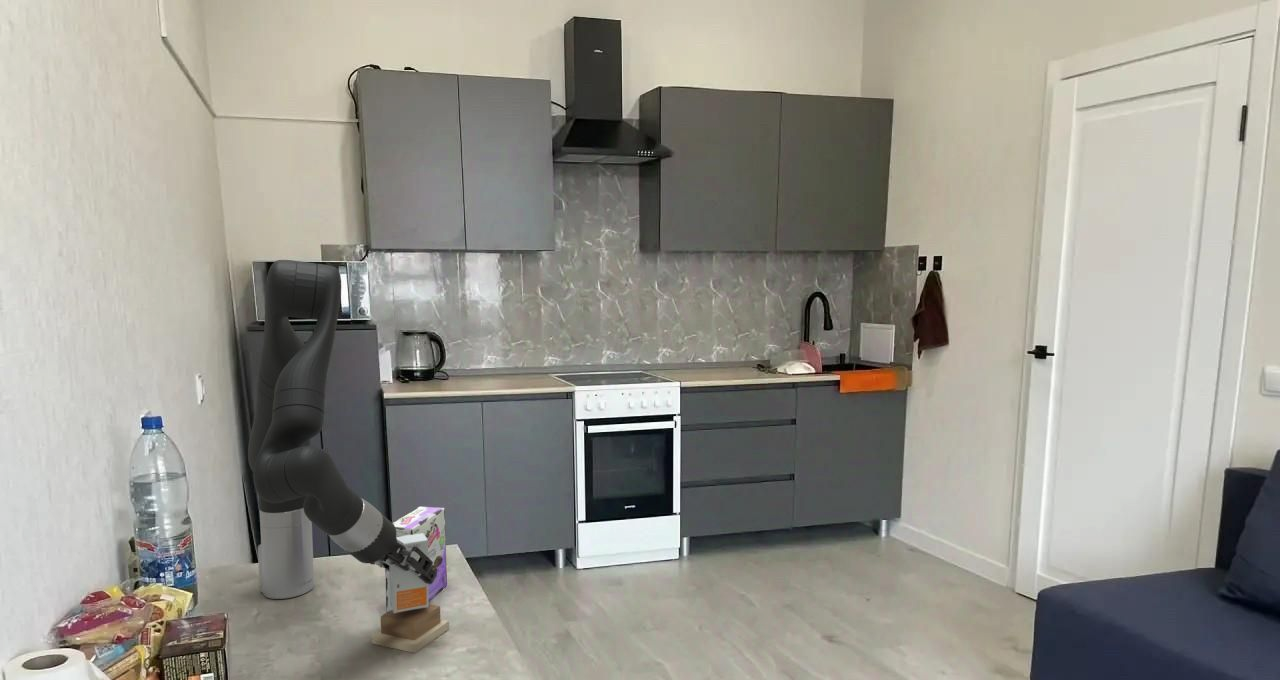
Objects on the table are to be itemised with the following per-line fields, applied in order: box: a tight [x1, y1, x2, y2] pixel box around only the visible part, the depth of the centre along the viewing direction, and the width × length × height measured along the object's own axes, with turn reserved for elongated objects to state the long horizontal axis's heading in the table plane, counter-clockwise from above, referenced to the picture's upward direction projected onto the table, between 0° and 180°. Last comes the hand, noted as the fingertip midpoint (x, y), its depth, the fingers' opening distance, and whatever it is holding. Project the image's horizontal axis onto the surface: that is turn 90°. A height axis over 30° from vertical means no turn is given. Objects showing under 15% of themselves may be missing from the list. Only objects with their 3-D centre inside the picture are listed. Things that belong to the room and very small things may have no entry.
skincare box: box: [389, 533, 430, 613], centre depth 125 cm, size 6×4×12 cm
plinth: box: [371, 603, 450, 654], centre depth 126 cm, size 9×9×4 cm
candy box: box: [384, 506, 448, 613], centre depth 141 cm, size 14×6×16 cm, turn 168°
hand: (415, 575), depth 126 cm, fingers closed on skincare box, 6 cm apart
